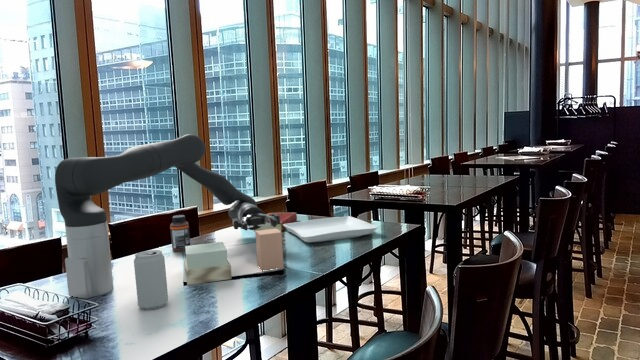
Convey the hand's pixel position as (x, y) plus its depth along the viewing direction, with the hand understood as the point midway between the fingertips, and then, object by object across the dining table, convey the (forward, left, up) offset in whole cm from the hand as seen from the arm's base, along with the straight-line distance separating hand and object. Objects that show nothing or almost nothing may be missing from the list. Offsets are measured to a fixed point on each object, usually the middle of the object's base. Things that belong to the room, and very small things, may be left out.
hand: (260, 225), depth 143 cm
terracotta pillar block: (-9, -7, -10) cm, 15 cm away
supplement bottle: (+4, +33, -10) cm, 34 cm away
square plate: (+34, -8, -10) cm, 37 cm away
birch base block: (-20, +6, -10) cm, 23 cm away
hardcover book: (+45, +19, -10) cm, 50 cm away
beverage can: (-42, +5, -10) cm, 43 cm away
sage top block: (-20, +6, -6) cm, 22 cm away
